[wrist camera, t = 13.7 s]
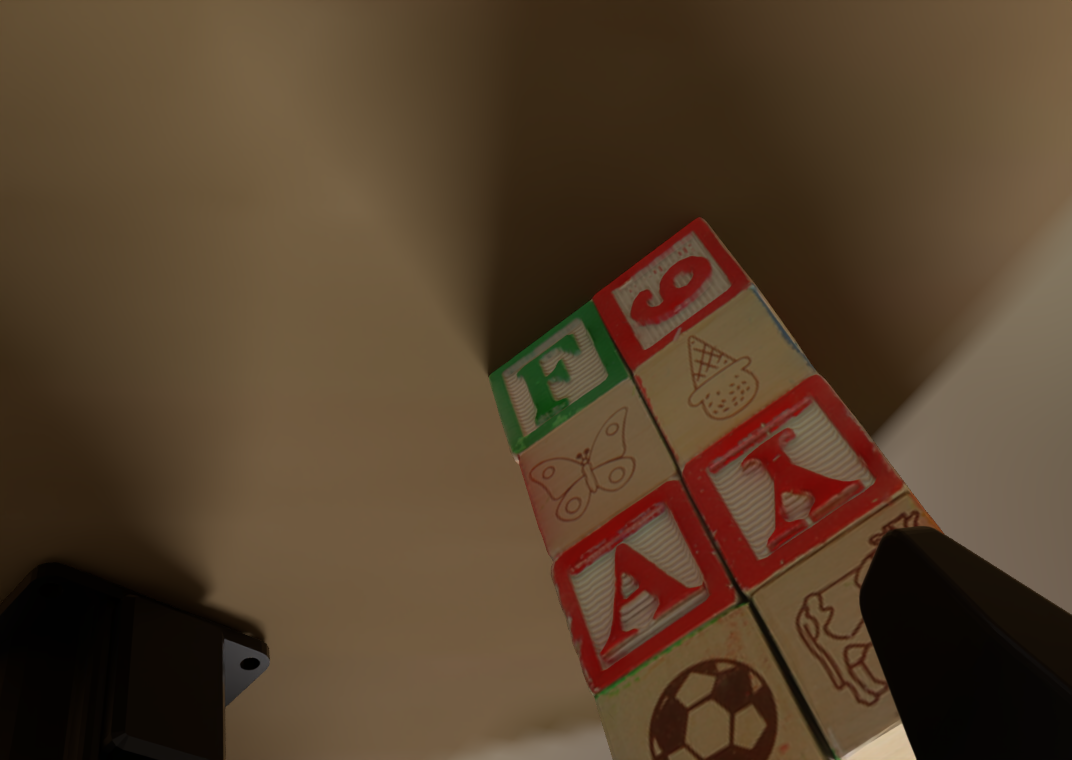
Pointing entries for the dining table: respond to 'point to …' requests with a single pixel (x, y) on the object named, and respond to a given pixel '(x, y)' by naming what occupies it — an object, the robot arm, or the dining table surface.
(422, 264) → the dining table surface
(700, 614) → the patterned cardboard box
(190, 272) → the dining table surface
